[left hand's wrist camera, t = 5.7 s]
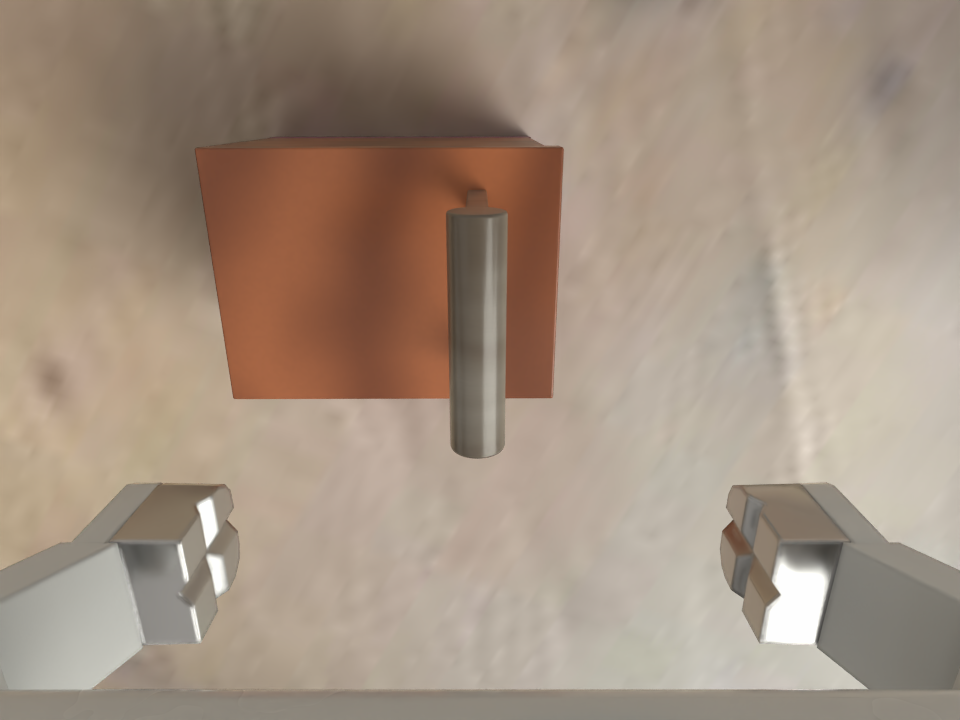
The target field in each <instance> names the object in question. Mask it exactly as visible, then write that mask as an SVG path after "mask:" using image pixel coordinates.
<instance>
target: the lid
mask: <svg viewBox="0 0 960 720" xmlns="http://www.w3.org/2000/svg"><path fill="white" fill-rule="evenodd" d="M563 153H564V149H563V147H560V146H206V147H198V148H195V154H196V160H197V167H198V173H199V180H200V186H201V192H202V199H203V205H204V212H205V218H206V225H207V231H208V238H209V244H210V250H211V257H212V263H213V270H214V276H215V283H216V289H217V296H218V302H219V309H220V315H221V321H222V328H223V334H224V341H225V347H226V354H227V360H228V367H229V373H230V379H231V386H232V392H233V398H234V399H400V398H450V442H451V448H452V449H453V451H454V452H455V453H457V454H458V455H461V456H463V457H467V458H477V459H478V458H488V457H492V456H494V455H497V454H498V453H500V452H501V451H502V450H503V448H504V445H505V398H552V397H553V383H554V360H555V337H556V314H557V291H558V268H559V245H560V222H561V199H562V176H563Z"/></svg>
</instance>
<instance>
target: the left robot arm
mask: <svg viewBox="0 0 960 720" xmlns="http://www.w3.org/2000/svg"><path fill="white" fill-rule="evenodd" d="M233 508H234V506H233V501H232V496H231V491H230V489H229V488H228V487H227V486H226V485H225V484H186V483H164V484H163V483H133V484H128V485H126V486H125V487H124V488H123V489H122V490H121V491H120V492H119V493H118V494H117V495H116V496H115V497H114V498H113V499H112V500H111V502H110V503H109V504H108V505H107V506H106V507H105V508H104V509H103V510H102V511H101V512H100V513H99V514H98V515H97V516H96V517H95V518H94V519H93V520H92V521H91V522H90V523H89V524H88V525H87V527H86V528H85V529H84V530H83V531H82V532H81V533H80V534H79V535H78V536H77V537H76V538H75V539H74V540H73V541H72V542H71V543H59V544H57V545H55V546H52V547H50V548H48V549H46V550H44V551H41V552H39V553H37V554H35V555H33V556H31V557H28V558H26V559H24V560H22V561H20V562H18V563H15V564H13V565H11V566H9V567H7V568H4V569H2V570H0V720H960V570H958V569H955V568H953V567H951V566H949V565H947V564H944V563H942V562H940V561H938V560H936V559H934V558H931V557H929V556H927V555H925V554H923V553H921V552H918V551H916V550H914V549H912V548H910V547H908V546H905V545H903V544H901V543H889V542H888V541H887V540H886V539H885V538H884V537H883V536H882V535H881V534H880V533H879V532H878V531H877V530H876V529H875V528H874V526H873V525H872V524H871V523H870V522H869V521H868V520H867V519H866V518H865V517H864V516H863V515H862V514H861V513H860V512H859V511H858V510H857V509H856V508H855V507H854V506H853V505H852V504H851V502H850V501H849V500H848V499H847V498H846V497H845V496H844V495H843V494H842V493H841V492H840V491H839V490H838V489H837V488H836V487H835V486H834V485H831V484H829V483H827V482H824V483H797V484H764V485H733V486H732V488H731V490H730V492H729V494H728V500H727V505H726V508H727V510H728V512H729V513H730V515H731V516H732V518H733V521H732V522H731V523H730V524H729V525H728V526H727V527H726V528H725V529H724V530H723V531H722V537H721V545H720V554H721V565H722V569H723V572H724V576H725V579H726V581H727V583H728V585H729V587H730V589H731V590H732V591H734V592H735V593H736V594H738V595H739V596H741V597H742V598H744V602H743V608H742V612H743V613H744V615H745V617H746V619H747V621H748V623H749V625H750V627H751V628H752V630H753V632H754V634H755V636H756V638H757V640H758V641H759V643H760V644H796V645H818V646H817V648H818V649H819V650H821V651H822V652H823V653H824V654H826V655H827V656H828V657H829V658H831V659H832V660H833V661H834V662H836V663H837V664H838V665H839V666H841V667H842V668H843V669H844V670H846V671H847V672H848V673H849V674H851V675H852V676H853V677H854V678H856V679H857V680H858V681H859V682H861V683H862V684H863V685H864V686H866V687H867V688H868V689H572V690H571V689H570V690H277V689H92V688H93V687H95V686H96V685H97V684H98V683H100V682H101V681H102V680H103V679H105V678H106V677H107V676H108V675H110V674H111V673H112V672H113V671H115V670H116V669H117V668H118V667H120V666H121V665H122V664H123V663H125V662H126V661H127V660H128V659H130V658H131V657H132V656H133V655H135V654H136V653H137V652H138V651H140V650H141V649H142V648H143V646H142V645H164V644H199V643H201V642H202V640H203V638H204V636H205V634H206V632H207V630H208V628H209V627H210V625H211V623H212V621H213V619H214V617H215V615H216V613H217V612H218V608H217V602H216V598H218V597H219V596H221V595H222V594H224V593H225V592H226V591H228V590H229V589H230V587H231V585H232V583H233V581H234V579H235V576H236V572H237V568H238V563H239V558H240V543H239V536H238V531H237V530H236V529H235V528H234V527H233V526H232V525H231V524H230V523H229V522H228V521H227V518H228V516H229V515H230V513H231V512H232V510H233Z"/></svg>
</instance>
